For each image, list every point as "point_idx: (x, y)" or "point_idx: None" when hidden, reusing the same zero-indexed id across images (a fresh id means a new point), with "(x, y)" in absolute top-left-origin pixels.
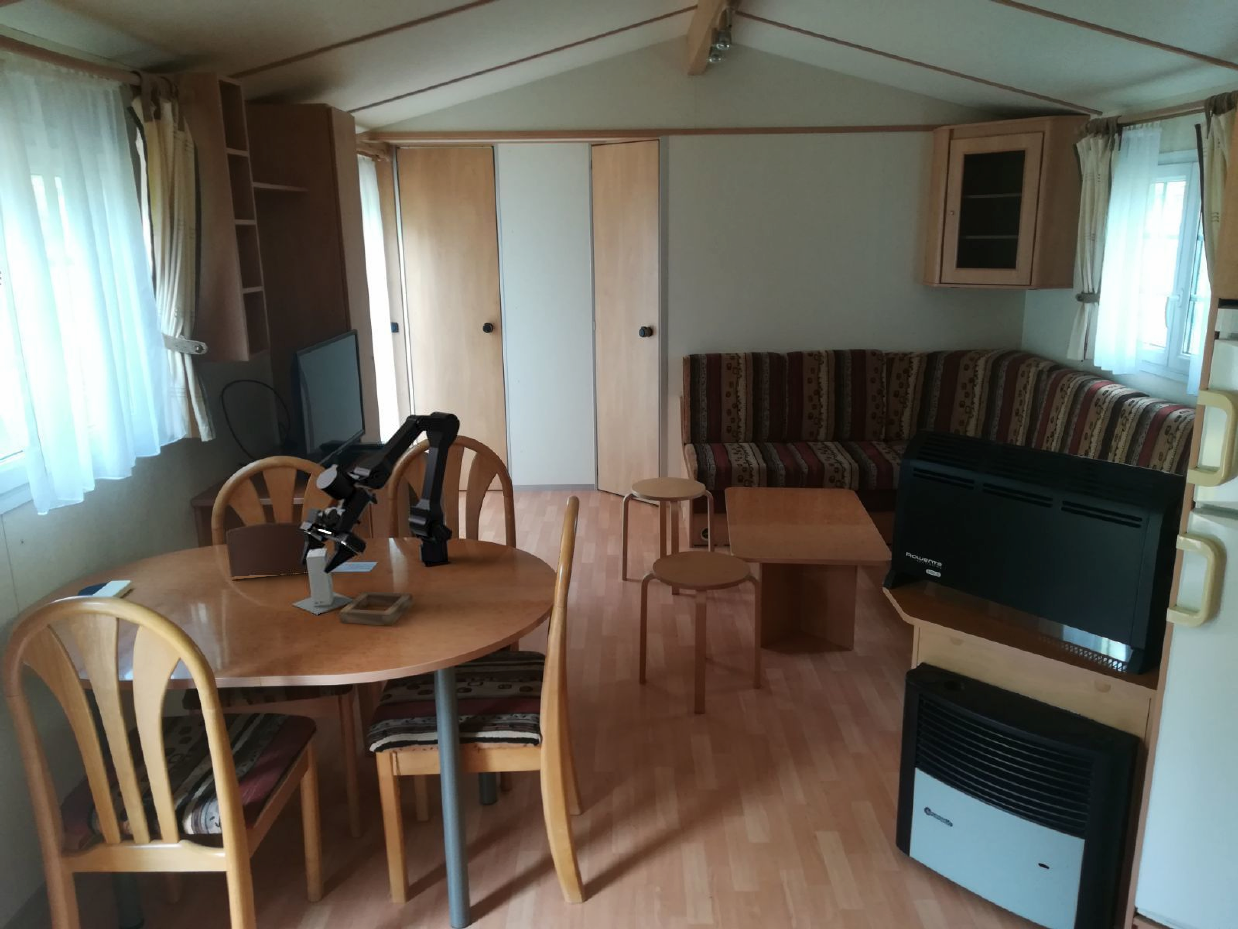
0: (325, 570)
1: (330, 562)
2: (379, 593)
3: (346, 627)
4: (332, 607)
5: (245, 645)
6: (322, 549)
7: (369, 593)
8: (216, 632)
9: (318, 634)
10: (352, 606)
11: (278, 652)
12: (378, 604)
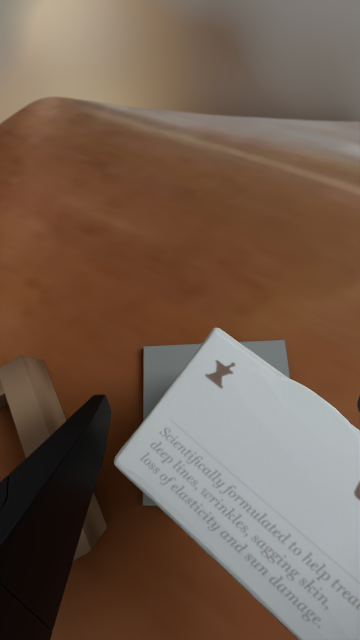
0: (90, 400)
1: (41, 446)
2: None
3: (3, 353)
4: (145, 407)
5: (134, 158)
6: (321, 592)
7: None
8: (260, 144)
9: (36, 283)
10: (15, 414)
11: (40, 185)
12: None
